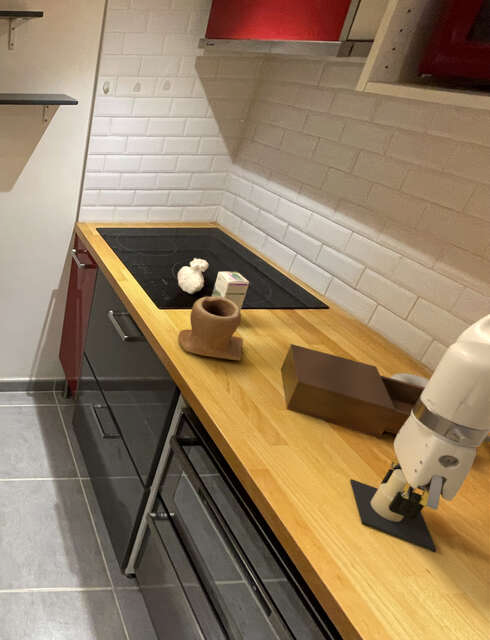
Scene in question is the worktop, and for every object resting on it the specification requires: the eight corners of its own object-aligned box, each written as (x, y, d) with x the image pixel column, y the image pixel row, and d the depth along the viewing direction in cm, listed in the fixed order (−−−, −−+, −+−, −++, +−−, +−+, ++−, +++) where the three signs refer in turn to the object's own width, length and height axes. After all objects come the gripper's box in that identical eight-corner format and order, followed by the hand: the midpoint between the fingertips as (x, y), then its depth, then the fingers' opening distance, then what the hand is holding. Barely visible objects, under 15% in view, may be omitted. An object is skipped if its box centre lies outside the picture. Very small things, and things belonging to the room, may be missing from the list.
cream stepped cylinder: (398, 506, 75) (418, 473, 72) (405, 526, 72) (427, 493, 69) (367, 495, 77) (386, 462, 74) (373, 514, 74) (393, 481, 71)
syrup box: (236, 327, 123) (251, 281, 117) (214, 326, 124) (228, 281, 118) (225, 315, 129) (239, 271, 123) (205, 315, 129) (217, 270, 123)
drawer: (459, 418, 93) (473, 397, 91) (489, 467, 82) (505, 444, 80) (343, 385, 102) (353, 365, 99) (356, 425, 91) (367, 403, 89)
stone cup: (180, 359, 110) (195, 308, 104) (175, 332, 121) (188, 284, 115) (249, 373, 106) (269, 321, 100) (238, 344, 116) (254, 295, 110)
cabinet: (362, 393, 101) (376, 366, 98) (379, 438, 89) (395, 409, 86) (280, 369, 108) (290, 343, 105) (286, 408, 96) (298, 381, 93)
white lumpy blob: (196, 304, 138) (226, 279, 134) (180, 290, 136) (210, 265, 133) (180, 284, 149) (207, 261, 145) (165, 271, 147) (192, 248, 144)
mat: (415, 505, 76) (417, 502, 76) (435, 552, 69) (436, 550, 69) (349, 481, 80) (351, 478, 80) (361, 523, 73) (363, 521, 73)
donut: (391, 402, 99) (454, 420, 94) (397, 390, 97) (461, 408, 92) (381, 376, 106) (438, 391, 102) (387, 364, 105) (445, 379, 100)
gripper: (513, 474, 58) (446, 560, 65) (460, 393, 71) (410, 473, 78) (436, 449, 61) (380, 534, 68) (399, 376, 74) (356, 454, 82)
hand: (397, 501), depth 73 cm, fingers closed on cream stepped cylinder, 4 cm apart
